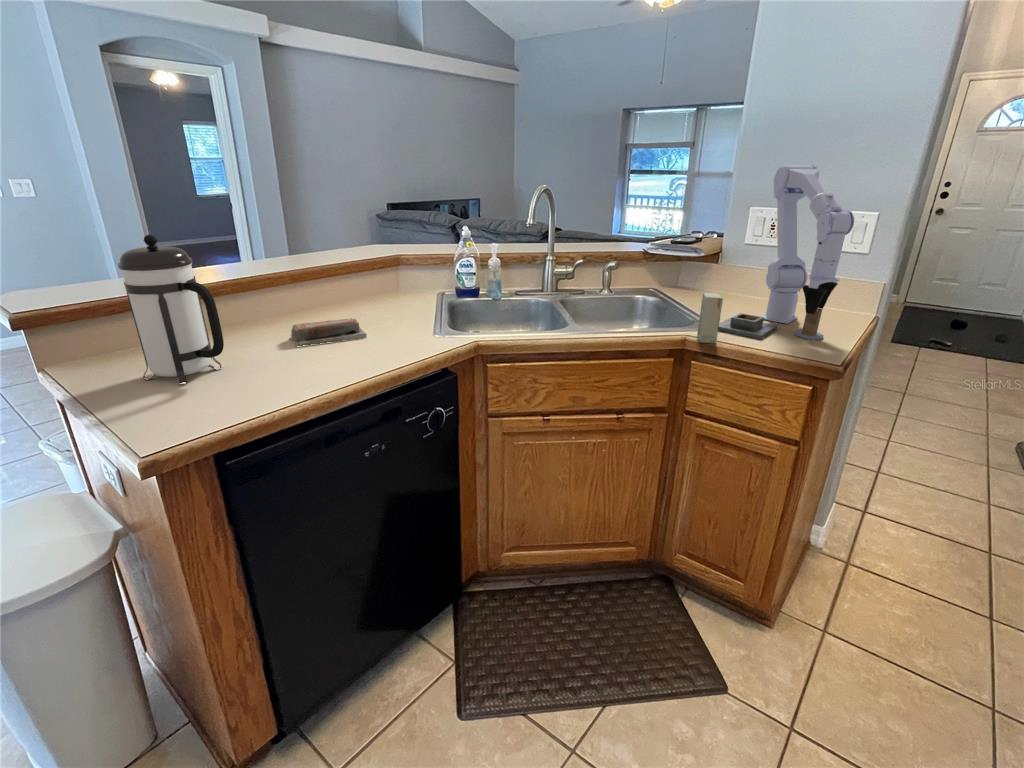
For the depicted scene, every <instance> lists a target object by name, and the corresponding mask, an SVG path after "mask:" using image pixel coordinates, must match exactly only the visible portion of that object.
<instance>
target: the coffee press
mask: <svg viewBox="0 0 1024 768" xmlns="http://www.w3.org/2000/svg"><path fill="white" fill-rule="evenodd" d="M143 242H144V243H145V244H146V245H147V246H145V247H137V248H132V249H129V250H127V251H125V252H124V253H122V254H121V256H120V258H119V262H118V263H117V267H118V269H119V270H120V271H121V273H122V276H123V280H124V282H123V284H124V289H125V292H126V295H127V299H128V303H129V308H130V310H131V315H132V317H133V321H134V324H135V329H136V332H137V336H138V338H139V343H140V346H141V349H142V350H141V351H142V354H143V357H144V361H145V365H146V370H145V372H144V373H143V379H144V378H145V377H146V376H145V375H147V372H148V370H149V371H150V372H151V373H152V375H153V376H152V375H151V376H152V377H153V378H154V377H155V376H159V377H165V378H166V377H168V378H170V377H177V381H178V384H179V383H182V382H187V378H186V377H187V375H193V374H195V373H198V372H201V371H202V370H205V369H207V368H211V369H213V370H215V369H214V367H215V366H214V365H211V364H212V362H213V361H214V362H215V363H216V364H217V365H219V367H220V368H221V369H222V364H221V362H219V361H218V360H217V359H216V358H215V357H217V356H220V355H221V354H222V352H223V349H224V345H225V344H224V342H225V341H224V336H223V331H222V326H221V321H220V317H219V313H218V309H217V305H216V302H215V299H214V297H213V295H212V293H211V292H210V290H209V289H208V288H207V287H206V286H204V284H201V283H199V282H197V280H196V276H195V275H194V272H193V267H192V264H193V258H192V257H189V255H188V253H187V252H186V251H185V250H184V249H182V248H180V247H175V246H169V245H168V246H167V245H166V246H165V245H162V246H161V245H159V246H158V245H157V243H158V239H157V237H156V236H155V235H153V234H146V235H145V236H144V237H143ZM201 299H202V301H203V302H204V306H205V309H206V313H207V314H206V315H207V319H208V323H209V327H210V333H211V336H212V343H213V345H212V346H211V341H210V337H209V333H208V329H207V324H206V320H205V319H206V318H205V315H204V311H203V306H202V301H201Z"/></svg>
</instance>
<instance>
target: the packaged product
mask: <svg viewBox="0 0 1024 768" xmlns="http://www.w3.org/2000/svg"><path fill="white" fill-rule="evenodd" d="M290 331H291V334H290V337H291V339H292V341H293V342H295V343H294V345H295V344H296V345H295V346H296V347H297V346H303V345H311V344H320V343H327V342H334V343H336V342H335V341H342V342H344V341H343V340H348V341H352V340H351V339H355V340H360V339H359V338H362V339H365V338H364V337H366V338H367V332H365V331H364V330H363V329H362V328H361V327H360V323H359V322H358V320H357V319H356V318H343V319H333V320H324V321H322V320H321V321H314V322H313V321H312V322H304V323H295V324H293V325H292V329H291V330H290ZM327 344H328V343H327ZM320 345H321V344H320Z"/></svg>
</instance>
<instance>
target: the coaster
mask: <svg viewBox="0 0 1024 768" xmlns="http://www.w3.org/2000/svg"><path fill="white" fill-rule="evenodd" d="M802 330H803V329H802ZM802 330H800V329H799V330H796V331H794V336H795V337H797V338H799V339H803V340H808V339H809V341H821V340H823V339H824V335H823V334H822V333H820V332H818V331H817V334H816V335H815V336H809V335H804V334H802Z"/></svg>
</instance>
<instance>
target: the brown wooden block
mask: <svg viewBox="0 0 1024 768" xmlns="http://www.w3.org/2000/svg"><path fill="white" fill-rule="evenodd" d="M822 313H823V309H821V308H817V311H816V312H815V314H810V313H806V312H805V317H804V322H803V326H802V334H804V335H809V336H815V335H816V334H817V332H818V330H819V327H820V321H821V318H822Z"/></svg>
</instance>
